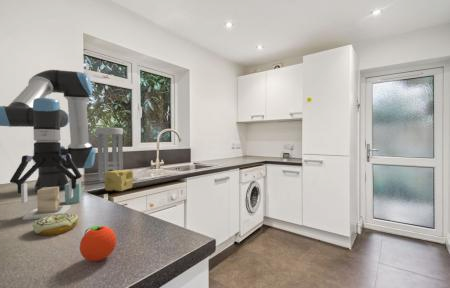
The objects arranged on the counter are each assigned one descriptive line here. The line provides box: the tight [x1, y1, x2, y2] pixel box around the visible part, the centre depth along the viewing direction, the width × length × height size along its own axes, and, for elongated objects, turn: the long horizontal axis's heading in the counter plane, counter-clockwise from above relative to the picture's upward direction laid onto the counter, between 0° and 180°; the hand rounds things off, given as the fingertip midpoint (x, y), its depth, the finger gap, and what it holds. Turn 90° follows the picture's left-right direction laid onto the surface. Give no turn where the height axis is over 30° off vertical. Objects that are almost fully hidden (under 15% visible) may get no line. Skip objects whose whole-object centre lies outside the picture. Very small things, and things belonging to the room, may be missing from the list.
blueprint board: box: [22, 204, 72, 221], centre depth 79 cm, size 11×11×1 cm
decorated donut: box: [32, 212, 79, 237], centre depth 64 cm, size 10×11×4 cm
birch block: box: [36, 187, 60, 213], centre depth 79 cm, size 5×5×8 cm
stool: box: [95, 127, 124, 183], centre depth 145 cm, size 16×16×35 cm
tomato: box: [79, 225, 117, 262], centre depth 47 cm, size 8×7×7 cm
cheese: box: [104, 169, 134, 192], centre depth 118 cm, size 10×11×10 cm
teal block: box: [64, 181, 83, 205], centre depth 93 cm, size 5×5×8 cm
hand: (48, 199), depth 79 cm, fingers open, 13 cm apart
